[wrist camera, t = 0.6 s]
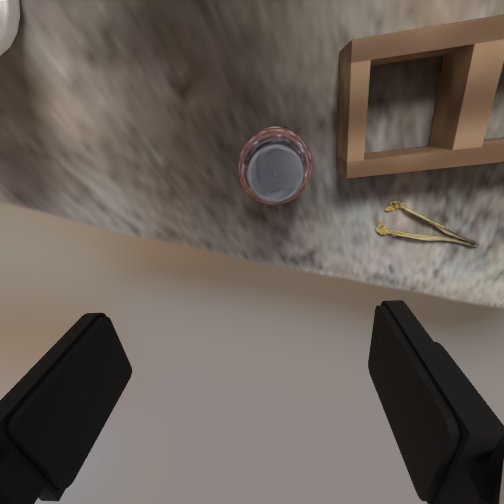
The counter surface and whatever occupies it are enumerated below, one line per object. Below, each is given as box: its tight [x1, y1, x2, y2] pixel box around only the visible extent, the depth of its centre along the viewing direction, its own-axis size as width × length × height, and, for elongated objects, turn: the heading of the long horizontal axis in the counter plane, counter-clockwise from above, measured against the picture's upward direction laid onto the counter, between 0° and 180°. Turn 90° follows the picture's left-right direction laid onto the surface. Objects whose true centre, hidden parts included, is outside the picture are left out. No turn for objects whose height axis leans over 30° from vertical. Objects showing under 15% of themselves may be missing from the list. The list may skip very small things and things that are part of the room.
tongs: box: [376, 201, 479, 247], centre depth 30 cm, size 4×13×2 cm, turn 78°
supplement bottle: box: [238, 127, 312, 205], centre depth 23 cm, size 6×6×11 cm
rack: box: [337, 15, 504, 179], centre depth 23 cm, size 11×21×4 cm, turn 97°
